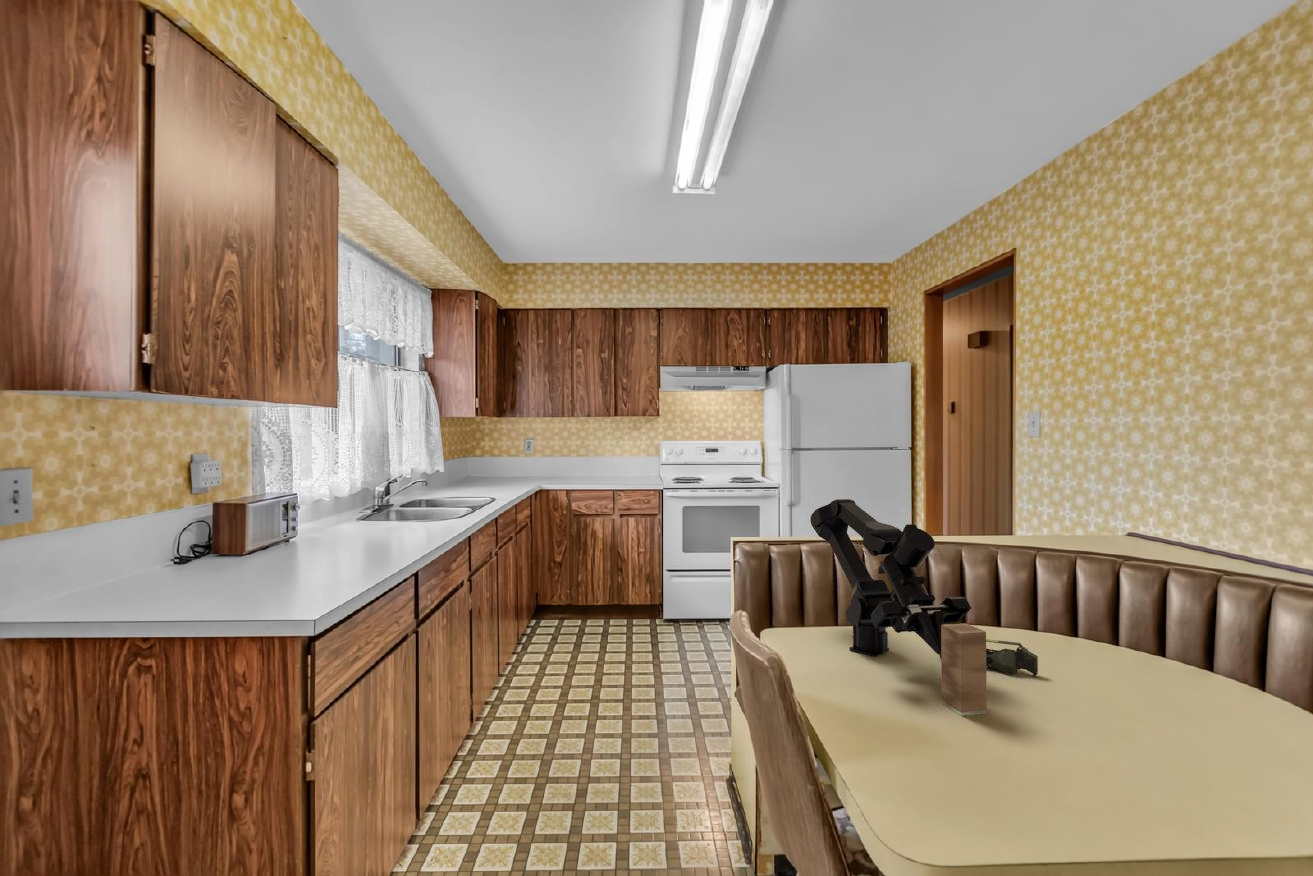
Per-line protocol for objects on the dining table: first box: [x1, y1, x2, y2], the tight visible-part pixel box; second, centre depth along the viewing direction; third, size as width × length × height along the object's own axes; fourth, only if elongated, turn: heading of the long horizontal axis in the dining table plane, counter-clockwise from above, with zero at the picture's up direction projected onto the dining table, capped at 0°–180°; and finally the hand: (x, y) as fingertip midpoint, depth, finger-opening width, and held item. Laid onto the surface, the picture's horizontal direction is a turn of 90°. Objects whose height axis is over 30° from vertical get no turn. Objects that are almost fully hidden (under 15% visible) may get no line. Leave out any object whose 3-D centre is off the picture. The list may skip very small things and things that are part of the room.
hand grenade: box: [938, 638, 1039, 678], centre depth 127 cm, size 6×5×18 cm
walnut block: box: [940, 622, 988, 717], centre depth 107 cm, size 5×5×14 cm
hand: (941, 653), depth 113 cm, fingers closed
